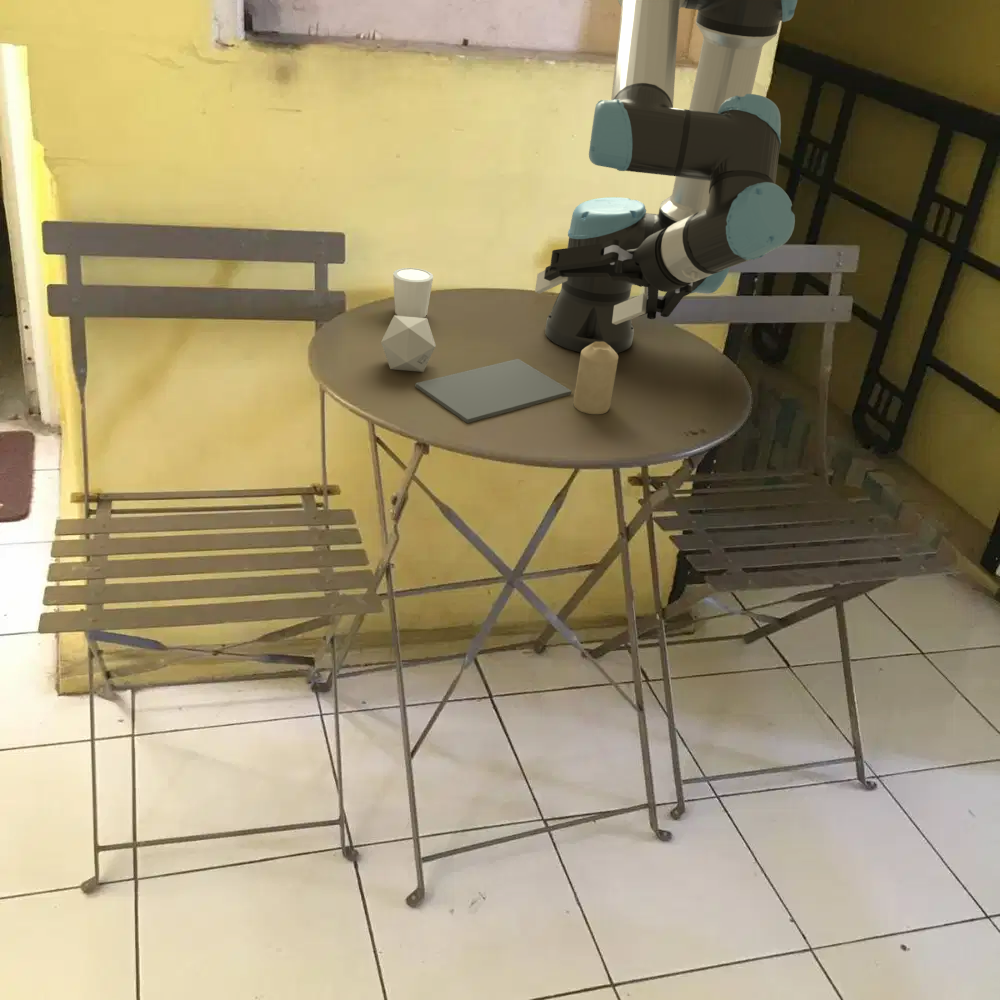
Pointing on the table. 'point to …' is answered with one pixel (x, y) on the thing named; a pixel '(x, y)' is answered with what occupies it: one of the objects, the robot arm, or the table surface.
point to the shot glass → (412, 292)
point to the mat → (492, 390)
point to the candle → (595, 378)
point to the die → (408, 343)
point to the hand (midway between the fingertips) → (577, 300)
